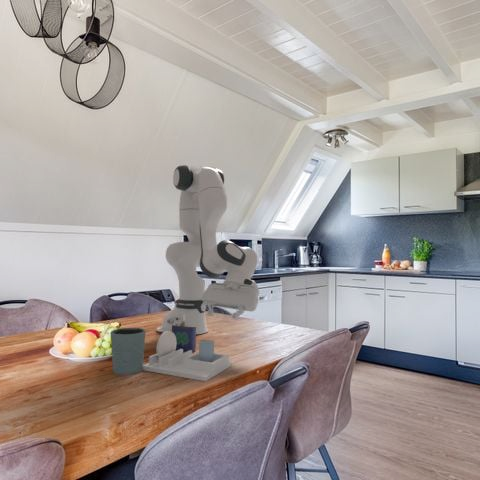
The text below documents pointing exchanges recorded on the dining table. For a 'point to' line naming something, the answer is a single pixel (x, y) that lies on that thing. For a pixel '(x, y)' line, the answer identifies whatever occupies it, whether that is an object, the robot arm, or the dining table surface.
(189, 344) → the blue printed box
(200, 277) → the robot arm
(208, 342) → the grey upright block
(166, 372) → the rack
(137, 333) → the green cup
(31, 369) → the dining table surface
